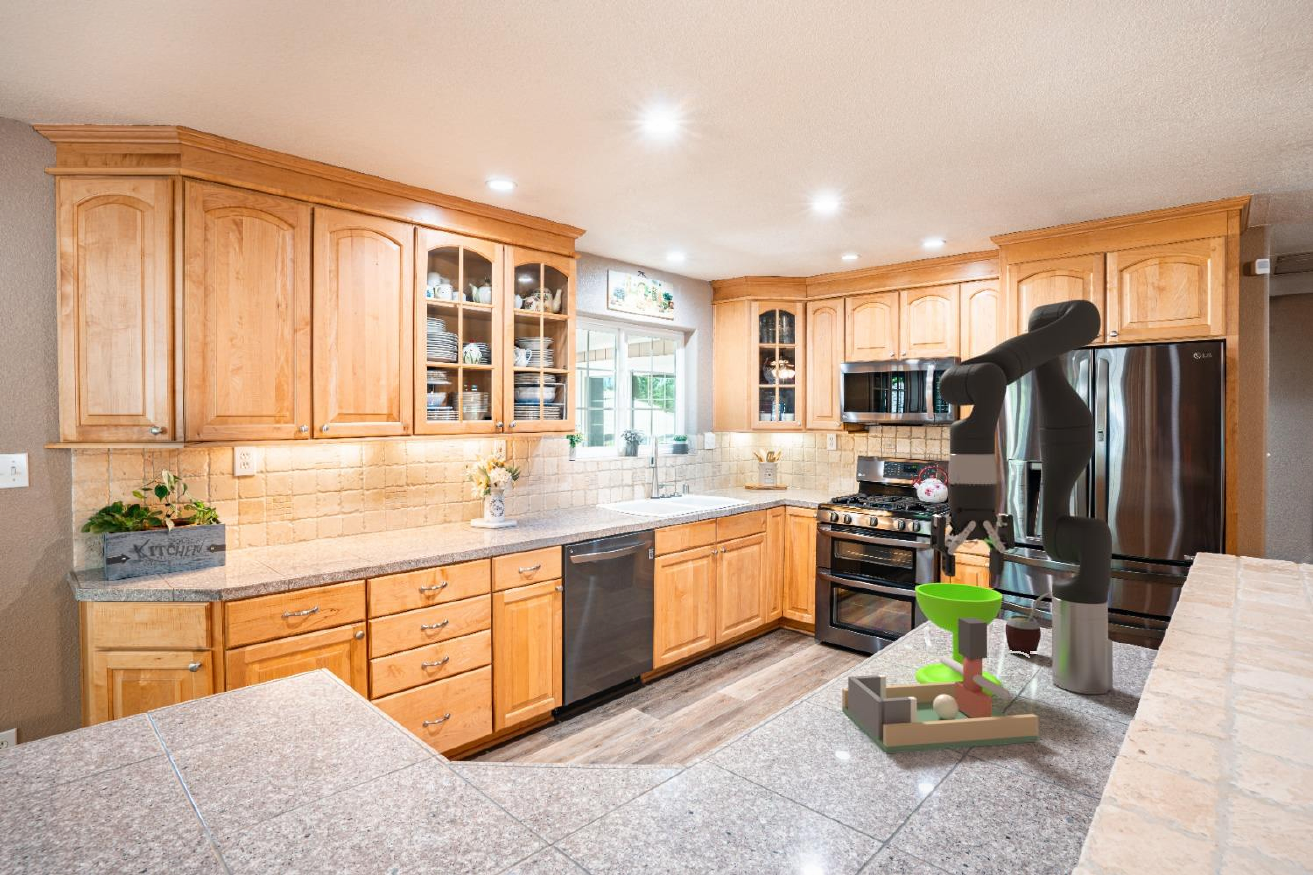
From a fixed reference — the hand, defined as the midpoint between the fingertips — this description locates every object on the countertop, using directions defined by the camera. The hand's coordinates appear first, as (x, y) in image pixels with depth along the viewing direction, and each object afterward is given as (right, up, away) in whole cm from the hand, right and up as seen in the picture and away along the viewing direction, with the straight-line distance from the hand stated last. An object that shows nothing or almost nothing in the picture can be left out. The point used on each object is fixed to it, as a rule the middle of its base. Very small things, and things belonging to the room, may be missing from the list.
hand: (972, 575), depth 113 cm
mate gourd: (+29, -26, +36) cm, 53 cm away
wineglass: (+6, -26, +19) cm, 32 cm away
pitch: (-7, -25, -1) cm, 26 cm away
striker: (0, -24, 0) cm, 24 cm away
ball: (-5, -22, -1) cm, 23 cm away
